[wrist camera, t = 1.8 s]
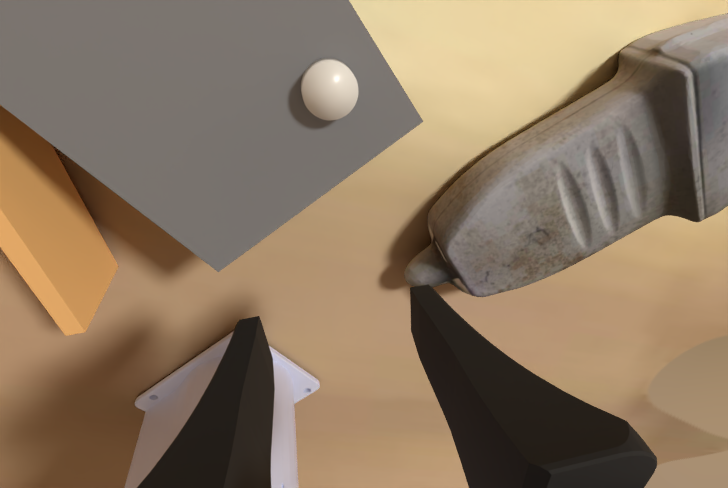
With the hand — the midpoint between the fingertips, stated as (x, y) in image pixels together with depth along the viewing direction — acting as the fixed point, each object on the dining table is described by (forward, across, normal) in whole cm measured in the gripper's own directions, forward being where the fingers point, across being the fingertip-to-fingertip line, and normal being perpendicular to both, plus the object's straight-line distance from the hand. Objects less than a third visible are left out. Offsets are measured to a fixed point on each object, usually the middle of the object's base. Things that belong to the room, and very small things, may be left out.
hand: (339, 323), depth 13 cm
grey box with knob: (+9, +3, -7) cm, 12 cm away
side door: (+9, +11, -4) cm, 15 cm away
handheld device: (+10, -13, +1) cm, 17 cm away
